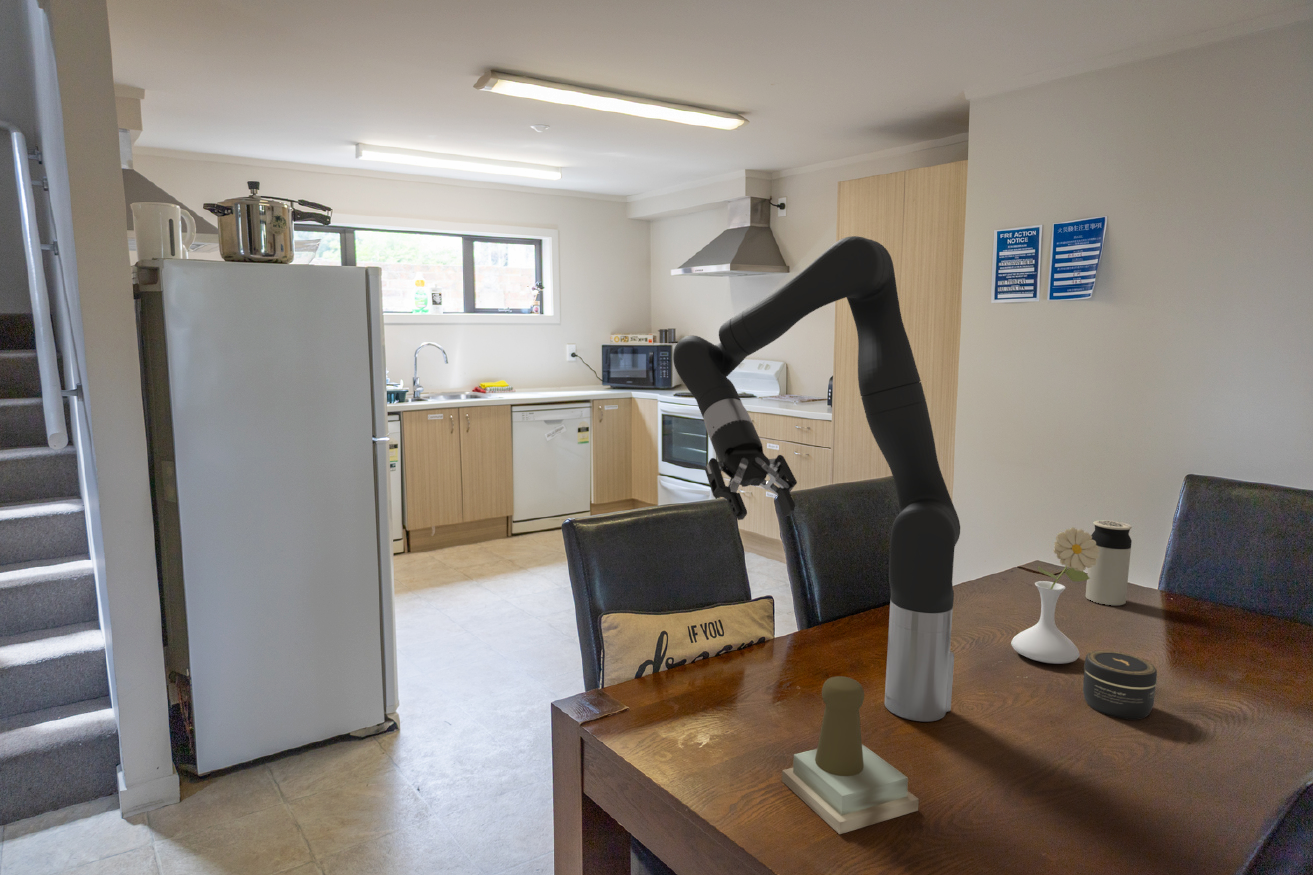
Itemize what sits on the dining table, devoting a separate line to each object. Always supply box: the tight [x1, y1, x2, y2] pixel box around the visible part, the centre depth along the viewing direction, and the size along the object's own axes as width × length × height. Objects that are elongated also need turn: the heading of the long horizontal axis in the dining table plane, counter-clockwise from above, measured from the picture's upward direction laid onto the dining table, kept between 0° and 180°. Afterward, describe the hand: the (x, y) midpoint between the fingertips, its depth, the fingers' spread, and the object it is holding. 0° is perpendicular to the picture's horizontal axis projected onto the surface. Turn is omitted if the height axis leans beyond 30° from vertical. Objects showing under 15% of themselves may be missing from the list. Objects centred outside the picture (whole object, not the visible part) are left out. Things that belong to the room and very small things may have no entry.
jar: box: [1082, 649, 1158, 721], centre depth 123 cm, size 10×10×8 cm
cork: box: [815, 675, 865, 776], centre depth 97 cm, size 6×6×11 cm
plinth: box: [781, 743, 920, 835], centre depth 98 cm, size 12×12×4 cm
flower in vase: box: [1010, 527, 1100, 665], centre depth 142 cm, size 13×11×25 cm
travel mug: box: [1085, 520, 1133, 607], centre depth 175 cm, size 8×8×18 cm
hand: (767, 515), depth 119 cm, fingers open, 8 cm apart
